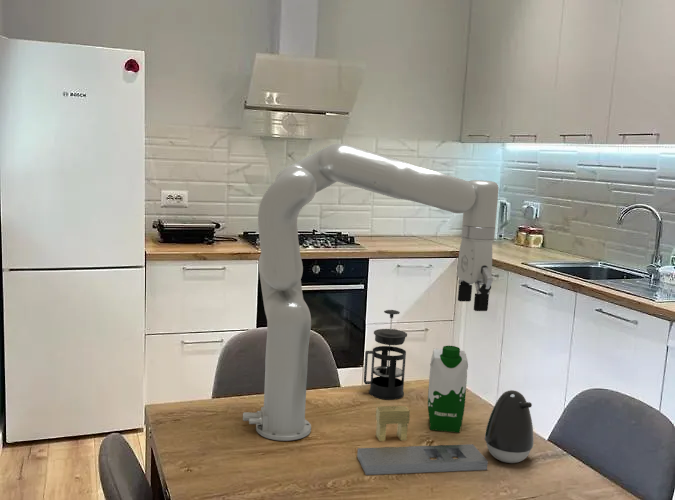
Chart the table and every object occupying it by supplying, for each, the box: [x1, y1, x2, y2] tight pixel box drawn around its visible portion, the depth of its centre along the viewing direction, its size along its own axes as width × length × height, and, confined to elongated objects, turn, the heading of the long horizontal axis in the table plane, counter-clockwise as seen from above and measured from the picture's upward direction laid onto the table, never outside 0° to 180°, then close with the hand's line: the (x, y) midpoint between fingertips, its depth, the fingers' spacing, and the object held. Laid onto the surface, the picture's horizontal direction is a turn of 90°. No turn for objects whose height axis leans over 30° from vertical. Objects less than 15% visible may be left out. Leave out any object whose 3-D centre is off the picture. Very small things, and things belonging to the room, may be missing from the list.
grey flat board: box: [356, 443, 489, 476], centre depth 142 cm, size 26×8×2 cm, turn 101°
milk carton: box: [427, 345, 469, 433], centre depth 161 cm, size 9×9×20 cm
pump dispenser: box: [484, 389, 534, 464], centre depth 146 cm, size 10×10×15 cm
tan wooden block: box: [375, 405, 411, 442], centre depth 154 cm, size 7×3×7 cm, turn 101°
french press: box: [363, 309, 408, 401], centre depth 181 cm, size 12×9×23 cm
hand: (472, 305), depth 159 cm, fingers open, 9 cm apart
